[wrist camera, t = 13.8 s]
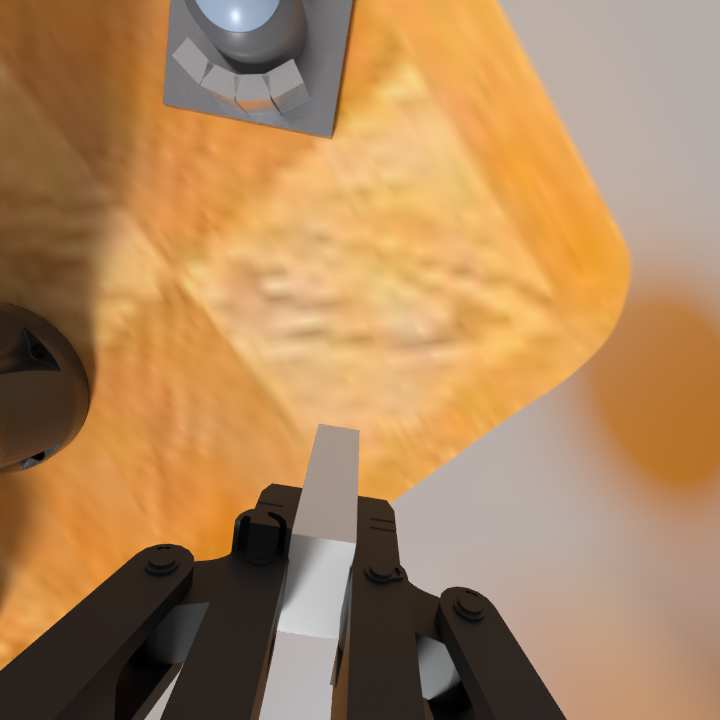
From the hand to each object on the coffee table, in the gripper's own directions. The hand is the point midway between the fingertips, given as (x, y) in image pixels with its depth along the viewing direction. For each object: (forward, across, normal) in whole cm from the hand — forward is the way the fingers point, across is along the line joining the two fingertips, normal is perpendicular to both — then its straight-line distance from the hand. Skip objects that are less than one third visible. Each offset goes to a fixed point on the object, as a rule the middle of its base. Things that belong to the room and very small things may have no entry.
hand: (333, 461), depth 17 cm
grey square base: (+24, -10, +22) cm, 34 cm away
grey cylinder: (+24, -10, +22) cm, 34 cm away
